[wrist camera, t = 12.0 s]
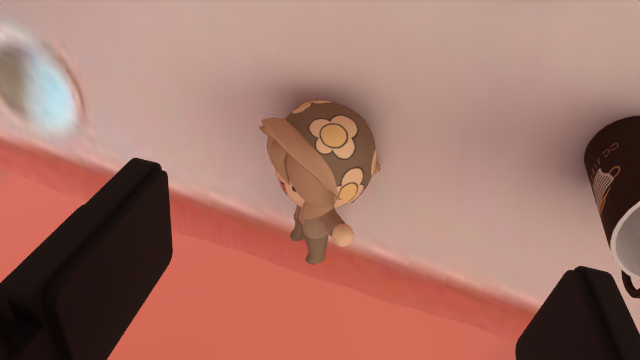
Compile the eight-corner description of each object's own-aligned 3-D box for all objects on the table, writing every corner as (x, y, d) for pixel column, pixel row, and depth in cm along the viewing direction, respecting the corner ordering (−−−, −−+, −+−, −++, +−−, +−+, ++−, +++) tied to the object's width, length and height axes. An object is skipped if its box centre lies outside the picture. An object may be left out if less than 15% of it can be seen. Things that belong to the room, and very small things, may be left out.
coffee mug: (625, 82, 32) (693, 153, 24) (726, 132, 32) (825, 218, 24) (522, 195, 39) (547, 280, 31) (606, 234, 39) (653, 328, 31)
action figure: (236, 226, 43) (243, 86, 33) (331, 199, 48) (361, 72, 39) (283, 308, 36) (309, 165, 27) (386, 266, 42) (438, 135, 32)
